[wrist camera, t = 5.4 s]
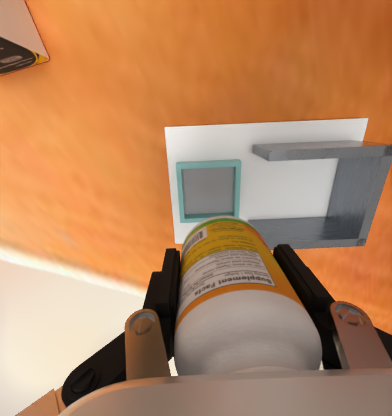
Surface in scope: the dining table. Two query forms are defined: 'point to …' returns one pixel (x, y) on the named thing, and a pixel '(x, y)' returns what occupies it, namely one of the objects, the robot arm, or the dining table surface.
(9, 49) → the medicine bottle
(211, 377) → the robot arm
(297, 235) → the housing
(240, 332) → the supplement bottle
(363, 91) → the dining table surface
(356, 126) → the base plate
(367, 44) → the dining table surface
